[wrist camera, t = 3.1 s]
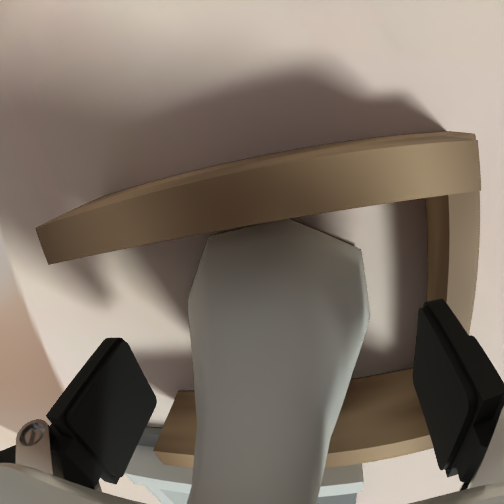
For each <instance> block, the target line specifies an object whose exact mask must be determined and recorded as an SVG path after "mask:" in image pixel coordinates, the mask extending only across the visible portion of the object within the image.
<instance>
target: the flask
mask: <svg viewBox="0 0 504 504" xmlns="http://www.w3.org/2000/svg"><path fill="white" fill-rule="evenodd" d="M188 316H189V327H190V338H191V348H192V358H193V375H194V390H195V404H196V416H197V432H196V442H195V453H194V464H193V476H192V487H191V490H190V494H189V497H188V501H187V504H317V499H318V495H319V491H320V487H321V482H322V478H323V473H324V468H325V463H326V458H327V453H328V448H329V443H330V438H331V435H332V433H333V430H334V427H335V424H336V422H337V419H338V416H339V413H340V410H341V407H342V404H343V401H344V398H345V395H346V392H347V389H348V386H349V383H350V379H351V376H352V373H353V370H354V367H355V364H356V361H357V358H358V355H359V352H360V349H361V346H362V343H363V340H364V337H365V334H366V331H367V327H368V323H369V319H370V309H369V301H368V293H367V286H366V278H365V272H364V265H363V258H362V252H361V249H359V248H356V247H354V246H352V245H350V244H347V243H345V242H343V241H340V240H338V239H336V238H334V237H331V236H329V235H327V234H324V233H322V232H320V231H317V230H315V229H312V228H310V227H308V226H305V225H303V224H301V223H298V222H296V221H293V220H291V219H284V220H278V221H272V222H267V223H263V224H258V225H254V226H250V227H246V228H242V229H238V230H234V231H229V232H225V233H221V234H217V235H213V236H209V237H208V240H207V242H206V245H205V248H204V251H203V254H202V257H201V260H200V263H199V266H198V269H197V272H196V276H195V279H194V282H193V285H192V288H191V291H190V294H189V297H188Z"/></svg>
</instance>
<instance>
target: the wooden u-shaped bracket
mask: <svg viewBox="0 0 504 504" xmlns="http://www.w3.org/2000/svg"><path fill="white" fill-rule="evenodd" d="M480 191H481V177H480V162H479V150H478V140H476V137H475V134H472V133H462V132H451V131H443V132H429V133H416V134H405V135H395V136H386V137H377V138H369V139H361V140H353V141H346V142H339V143H332V144H326V145H319V146H313V147H307V148H301V149H295V150H290V151H284V152H279V153H273V154H268V155H263V156H258V157H253V158H248V159H244V160H239V161H234V162H230V163H225V164H221V165H217V166H212V167H208V168H204V169H200V170H196V171H192V172H188V173H184V174H180V175H176V176H172V177H168V178H165V179H161V180H157V181H154V182H150V183H146V184H143V185H139V186H136V187H132V188H129V189H126V190H122V191H119V192H116V193H113V194H109V195H106V196H103V197H100V198H98V199H96V200H94V201H91V202H89V203H87V204H85V205H83V206H80V207H78V208H76V209H74V210H72V211H70V212H67V213H65V214H63V215H61V216H59V217H57V218H55V219H53V220H51V221H49V222H47V223H45V224H43V225H41V226H39V227H37V228H36V231H37V234H38V237H39V240H40V243H41V246H42V249H43V251H44V254H45V257H46V259H47V262H48V265H49V264H54V263H59V262H63V261H68V260H73V259H77V258H82V257H87V256H92V255H96V254H101V253H106V252H111V251H116V250H121V249H126V248H131V247H136V246H141V245H146V244H151V243H156V242H161V241H167V240H172V239H177V238H182V237H188V236H193V235H198V234H204V233H209V232H215V231H220V230H226V229H232V228H237V227H243V226H249V225H254V224H260V223H266V222H272V221H278V220H284V219H290V218H296V217H302V216H308V215H314V214H320V213H326V212H333V211H339V210H346V209H352V208H359V207H365V206H372V205H379V204H385V203H392V202H399V201H406V200H413V199H420V198H426V210H427V234H428V278H427V302H428V301H432V300H437V299H444V300H445V302H446V303H447V304H448V306H449V307H450V309H451V310H452V312H453V313H454V314H455V316H456V317H457V319H458V320H459V322H460V323H461V325H462V326H463V328H464V329H465V330H466V332H467V333H468V335H469V330H470V325H471V318H472V312H473V305H474V298H475V290H476V280H477V270H478V256H479V237H480ZM196 432H197V416H196V404H195V391H178V393H177V396H176V398H175V400H174V403H173V405H172V407H171V410H170V412H169V414H168V416H167V419H166V421H165V423H164V426H163V428H162V430H161V433H160V435H159V437H158V440H157V442H156V445H155V447H154V449H153V452H154V453H155V454H156V455H157V457H158V458H159V459H160V461H161V462H162V463H163V464H164V465H172V466H180V467H189V468H193V464H194V453H195V442H196ZM431 448H434V447H433V444H432V440H431V437H430V434H429V430H428V427H427V424H426V421H425V417H424V414H423V411H422V408H421V405H420V402H419V399H418V396H417V393H416V390H415V387H414V384H413V368H411V369H406V370H401V371H397V372H391V373H386V374H381V375H375V376H370V377H364V378H358V379H351V380H350V383H349V386H348V389H347V392H346V395H345V398H344V401H343V404H342V407H341V410H340V413H339V416H338V419H337V422H336V424H335V427H334V430H333V433H332V435H331V438H330V443H329V448H328V453H327V458H326V463H325V468H328V467H337V466H345V465H353V464H360V463H366V462H372V461H378V460H383V459H388V458H393V457H398V456H403V455H407V454H411V453H416V452H420V451H424V450H427V449H431Z"/></svg>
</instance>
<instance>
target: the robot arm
mask: <svg viewBox="0 0 504 504" xmlns="http://www.w3.org/2000/svg"><path fill="white" fill-rule="evenodd" d="M413 384H414V387H415V390H416V393H417V396H418V399H419V402H420V405H421V408H422V411H423V414H424V417H425V421H426V424H427V427H428V430H429V434H430V437H431V440H432V444H433V447H434V451H435V455H436V458H437V462H438V466H439V468H440V470H443V469H445V470H446V474H447V477H450V476H453V475H457V474H458V475H459V479H460V481H462V482H463V483H462V485H461V487H460V489H459V491H457V492H454V493H450V494H446V495H442V496H438V497H434V498H430V499H426V500H422V501H418V502H414V503H409V504H504V383H503V381H502V379H501V378H500V376H499V374H498V373H497V371H496V369H495V368H494V366H493V364H492V363H491V361H490V360H489V358H488V356H487V355H486V353H485V352H484V350H483V349H482V347H481V346H480V344H479V343H478V341H477V340H476V338H475V337H474V336H469V335H468V333H467V332H466V330H465V329H464V328H463V326H462V325H461V323H460V322H459V320H458V319H457V317H456V316H455V314H454V313H453V312H452V310H451V309H450V307H449V306H448V304H447V303H446V302H445V300H444V299H437V300H432V301H428V302H425V303H424V307H423V308H419V311H418V324H417V337H416V349H415V358H414V367H413ZM156 403H157V400H156V396H155V394H154V392H153V391H152V389H151V387H150V385H149V383H148V381H147V380H146V378H145V376H144V374H143V372H142V370H141V368H140V366H139V364H138V362H137V360H136V358H135V356H134V354H133V352H132V350H131V348H130V346H129V345H128V343H127V342H125V341H124V340H123V339H122V338H106V339H105V340H104V341H103V342H102V343H101V345H100V346H99V347H98V348H97V350H96V351H95V352H94V353H93V355H92V356H91V357H90V358H89V360H88V361H87V362H86V363H85V365H84V366H83V367H82V369H81V370H80V371H79V372H78V374H77V375H76V376H75V378H74V379H73V380H72V382H71V383H70V384H69V385H68V387H67V388H66V389H65V391H64V392H63V393H62V395H61V396H60V397H59V399H58V400H57V401H56V403H55V404H54V405H53V407H52V408H51V410H50V411H49V412H48V414H47V415H46V416H47V418H48V419H49V420H50V422H51V423H52V424H51V425H50V426H49V425H48V424H47V423H46V422H45V421H44V420H41V419H36V420H32V421H30V422H28V423H27V424H25V425H24V426H23V427H22V428H21V429H20V431H19V432H18V434H17V437H16V445H15V446H12V447H10V448H7V449H5V450H2V451H0V504H145V503H141V502H136V501H132V500H128V499H124V498H121V497H117V496H113V495H110V494H106V493H103V492H102V490H101V487H100V484H99V479H100V477H101V478H102V479H103V480H104V481H106V482H109V483H113V484H117V482H118V480H119V478H120V477H122V476H123V475H124V473H125V471H126V469H127V466H128V464H129V462H130V460H131V458H132V456H133V453H134V451H135V449H136V447H137V445H138V443H139V441H140V438H141V436H142V434H143V432H144V430H145V428H146V426H147V424H148V421H149V419H150V417H151V415H152V413H153V411H154V409H155V407H156Z"/></svg>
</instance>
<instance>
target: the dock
mask: <svg viewBox="0 0 504 504" xmlns="http://www.w3.org/2000/svg"><path fill="white" fill-rule="evenodd" d="M161 430H162V428H153V427H146V428H145V430H144V432H143V434H142V436H141V438H140V441H139V443H138V445H137V447H136V449H135V451H134V453H133V456H132V458H131V460H130V462H129V464H128V466H127V469H126V471H125V473H124V474H125V475H126V476H127V477H128V478H129V479H130V480H131V481H132V482H133V483H134V484H137V485H142V486H145V487H146V488H147V489H148V490H149V491H150V492H151V493H152V494H153V495H154V496H155V497H156V498H157V499H158V500H159V501H160V502H161V503H162V504H187V501H188V497H189V494H190V490H191V487H192V476H193V468H189V467H180V466H172V465H164V464H163V463H162V462H161V461H160V459H159V458H158V457H157V455H156V454H155V453H154V452H153V449H154V447H155V445H156V442H157V440H158V437H159V435H160V433H161ZM362 490H363V470H362V463H360V464H353V465H345V466H337V467H328V468H324V473H323V478H322V482H321V487H320V491H319V495H318V499H317V504H356V494H357V493H359V492H362Z"/></svg>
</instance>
